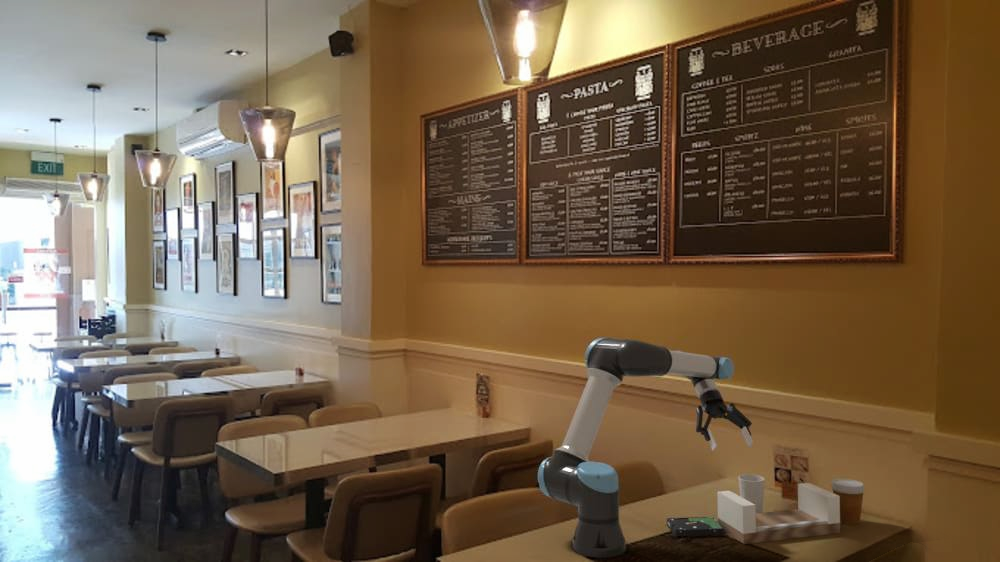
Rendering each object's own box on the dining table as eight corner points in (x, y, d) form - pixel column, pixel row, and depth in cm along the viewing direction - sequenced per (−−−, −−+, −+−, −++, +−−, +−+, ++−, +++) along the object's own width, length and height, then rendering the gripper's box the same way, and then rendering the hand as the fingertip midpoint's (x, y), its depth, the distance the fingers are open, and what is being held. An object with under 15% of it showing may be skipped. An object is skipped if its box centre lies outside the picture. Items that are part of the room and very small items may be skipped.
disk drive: (675, 539, 208) (724, 537, 208) (675, 530, 208) (724, 527, 208) (666, 526, 218) (713, 524, 218) (665, 517, 218) (713, 515, 218)
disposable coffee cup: (845, 528, 212) (844, 488, 212) (824, 517, 221) (824, 479, 221) (872, 525, 214) (872, 485, 214) (851, 514, 223) (850, 477, 223)
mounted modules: (743, 533, 201) (742, 506, 201) (717, 517, 215) (717, 491, 215) (840, 522, 208) (839, 495, 208) (809, 507, 222) (808, 482, 222)
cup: (734, 515, 225) (733, 478, 225) (746, 509, 231) (745, 472, 231) (757, 521, 219) (757, 483, 219) (769, 514, 225) (769, 477, 225)
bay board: (743, 544, 201) (743, 531, 201) (718, 527, 215) (717, 515, 215) (840, 532, 208) (840, 520, 208) (809, 517, 222) (809, 505, 222)
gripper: (736, 398, 256) (761, 449, 241) (673, 403, 250) (695, 455, 236) (744, 386, 250) (770, 437, 236) (680, 391, 245) (703, 443, 230)
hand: (733, 446), depth 236 cm, fingers open, 13 cm apart
